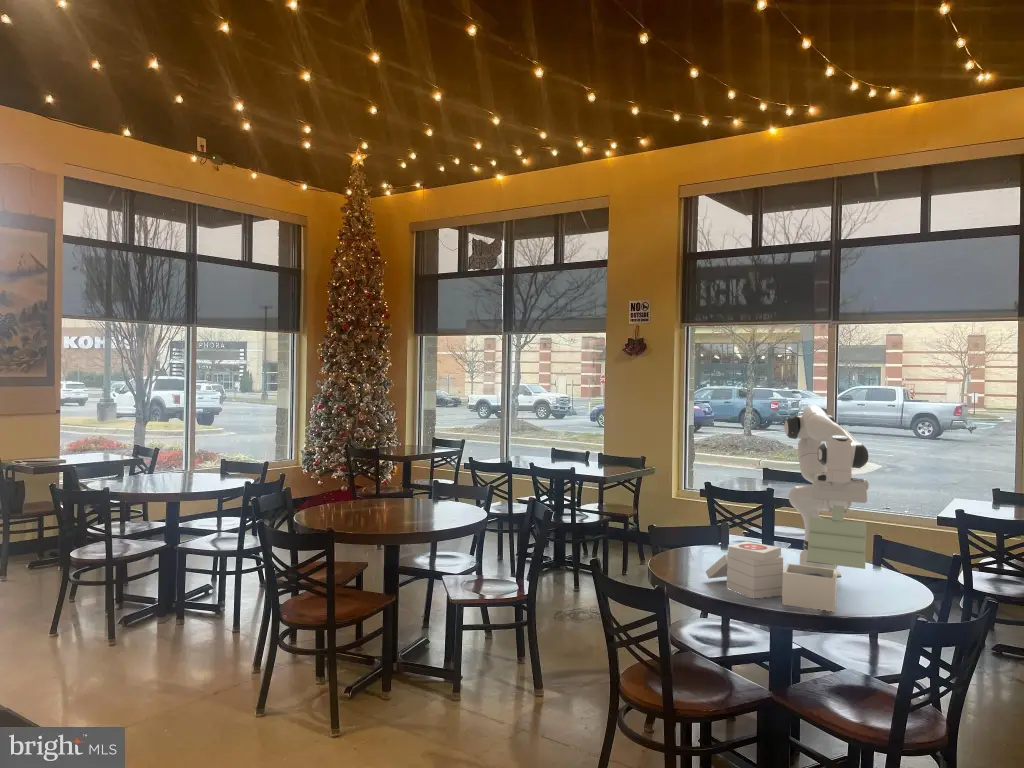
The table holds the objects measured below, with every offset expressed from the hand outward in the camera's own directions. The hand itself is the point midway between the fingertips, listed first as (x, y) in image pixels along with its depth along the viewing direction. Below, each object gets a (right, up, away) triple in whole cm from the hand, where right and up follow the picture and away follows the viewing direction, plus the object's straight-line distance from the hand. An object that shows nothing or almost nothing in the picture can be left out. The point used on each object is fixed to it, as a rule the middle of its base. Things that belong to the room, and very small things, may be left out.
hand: (838, 512), depth 278 cm
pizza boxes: (-34, -33, +8) cm, 48 cm away
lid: (-2, -9, -3) cm, 10 cm away
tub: (-15, -33, -9) cm, 37 cm away
